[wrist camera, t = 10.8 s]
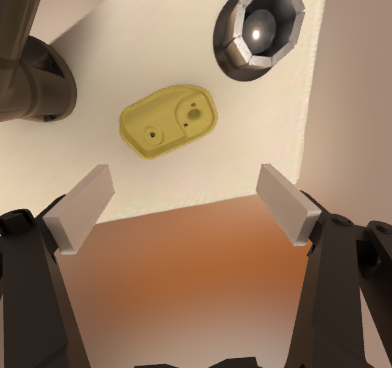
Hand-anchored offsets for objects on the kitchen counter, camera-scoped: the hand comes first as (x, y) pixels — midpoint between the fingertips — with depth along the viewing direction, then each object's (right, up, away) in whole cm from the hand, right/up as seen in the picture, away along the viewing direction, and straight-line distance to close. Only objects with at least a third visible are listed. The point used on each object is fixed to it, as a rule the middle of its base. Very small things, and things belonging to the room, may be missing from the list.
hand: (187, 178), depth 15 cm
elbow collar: (+11, +27, +18) cm, 35 cm away
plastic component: (-5, +14, +26) cm, 30 cm away
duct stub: (+11, +28, +19) cm, 35 cm away
